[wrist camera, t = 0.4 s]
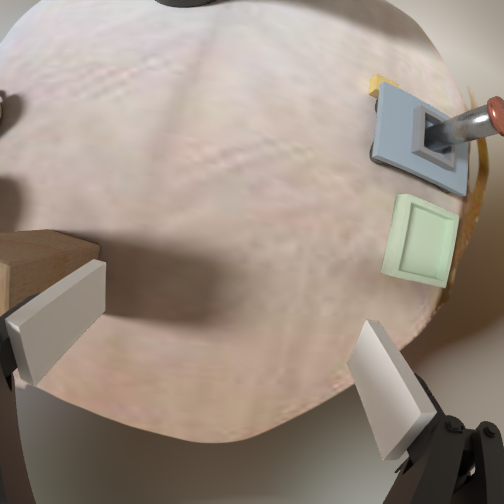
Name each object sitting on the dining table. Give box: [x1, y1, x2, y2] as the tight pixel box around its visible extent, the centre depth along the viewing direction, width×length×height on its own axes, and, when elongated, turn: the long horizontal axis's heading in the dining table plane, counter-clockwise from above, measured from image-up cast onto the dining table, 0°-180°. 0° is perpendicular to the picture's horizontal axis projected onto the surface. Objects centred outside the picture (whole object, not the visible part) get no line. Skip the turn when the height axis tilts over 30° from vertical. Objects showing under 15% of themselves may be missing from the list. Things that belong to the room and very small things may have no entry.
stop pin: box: [424, 96, 504, 151], centre depth 27 cm, size 5×5×15 cm
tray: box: [381, 194, 459, 288], centre depth 39 cm, size 12×12×3 cm
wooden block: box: [0, 229, 100, 316], centre depth 26 cm, size 10×10×20 cm
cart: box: [369, 74, 468, 196], centre depth 36 cm, size 15×18×7 cm
